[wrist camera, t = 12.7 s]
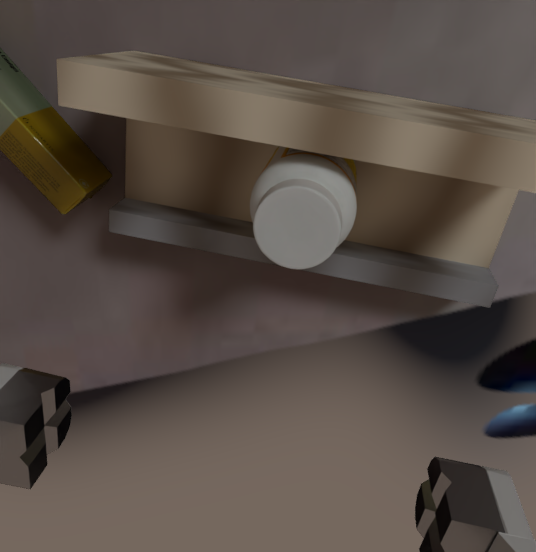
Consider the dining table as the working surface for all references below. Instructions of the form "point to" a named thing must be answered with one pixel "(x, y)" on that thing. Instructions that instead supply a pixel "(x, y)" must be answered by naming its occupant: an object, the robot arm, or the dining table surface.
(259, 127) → the cleat board
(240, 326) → the dining table surface
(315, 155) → the supplement bottle
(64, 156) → the medication box
